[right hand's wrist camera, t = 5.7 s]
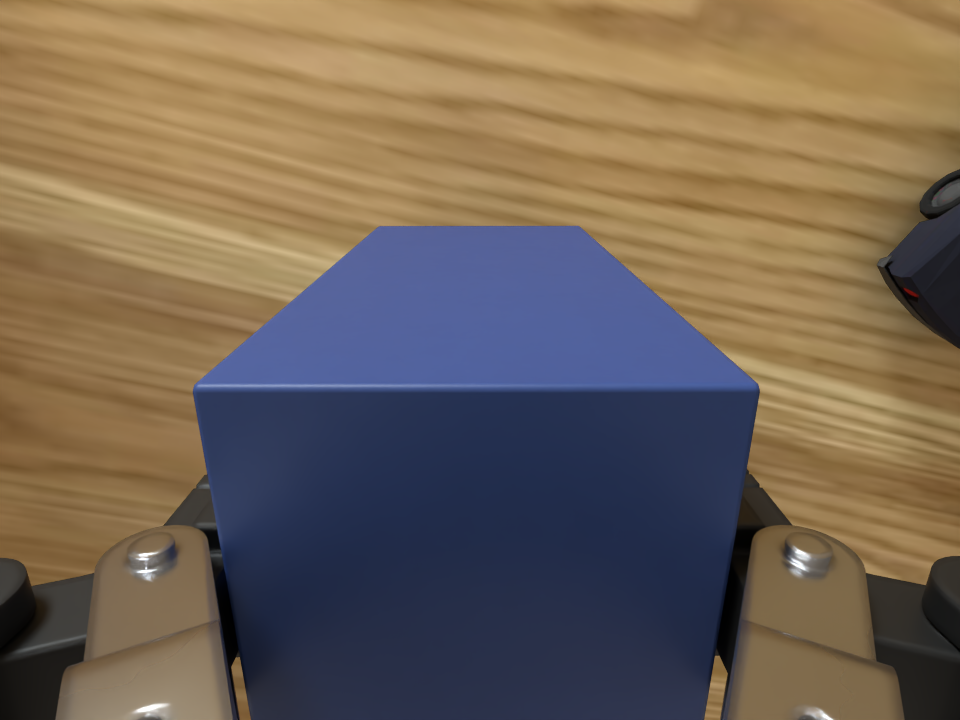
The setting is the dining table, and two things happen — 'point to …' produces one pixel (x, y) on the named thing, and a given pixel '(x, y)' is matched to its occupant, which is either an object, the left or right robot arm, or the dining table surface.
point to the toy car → (931, 262)
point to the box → (477, 486)
